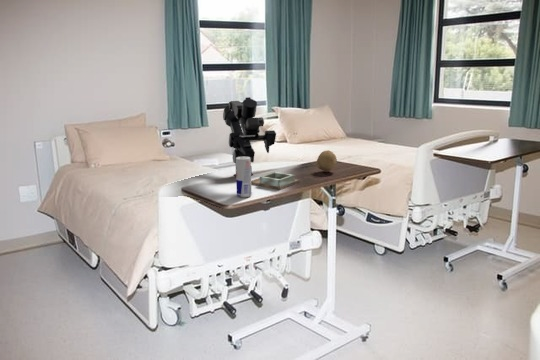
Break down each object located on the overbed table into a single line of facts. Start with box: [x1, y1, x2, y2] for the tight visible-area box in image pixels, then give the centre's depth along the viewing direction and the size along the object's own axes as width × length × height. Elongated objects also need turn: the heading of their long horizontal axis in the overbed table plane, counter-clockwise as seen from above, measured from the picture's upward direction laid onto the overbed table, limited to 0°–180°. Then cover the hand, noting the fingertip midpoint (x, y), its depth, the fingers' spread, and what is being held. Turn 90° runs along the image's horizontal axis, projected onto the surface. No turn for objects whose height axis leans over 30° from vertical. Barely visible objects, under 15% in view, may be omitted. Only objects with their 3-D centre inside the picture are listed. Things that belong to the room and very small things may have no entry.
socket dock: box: [251, 171, 300, 190], centre depth 202 cm, size 16×14×4 cm
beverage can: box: [235, 156, 252, 199], centre depth 182 cm, size 6×6×15 cm
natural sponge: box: [315, 149, 338, 173], centre depth 219 cm, size 9×9×10 cm
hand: (257, 153), depth 189 cm, fingers open, 9 cm apart
